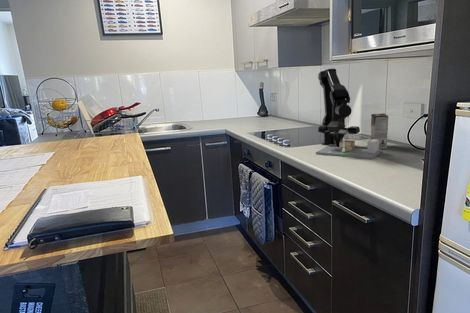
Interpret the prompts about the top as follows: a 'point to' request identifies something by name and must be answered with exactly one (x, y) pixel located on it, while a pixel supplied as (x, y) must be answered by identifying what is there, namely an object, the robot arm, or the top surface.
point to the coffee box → (379, 129)
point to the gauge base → (354, 151)
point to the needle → (343, 145)
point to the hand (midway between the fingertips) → (338, 146)
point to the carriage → (347, 145)
